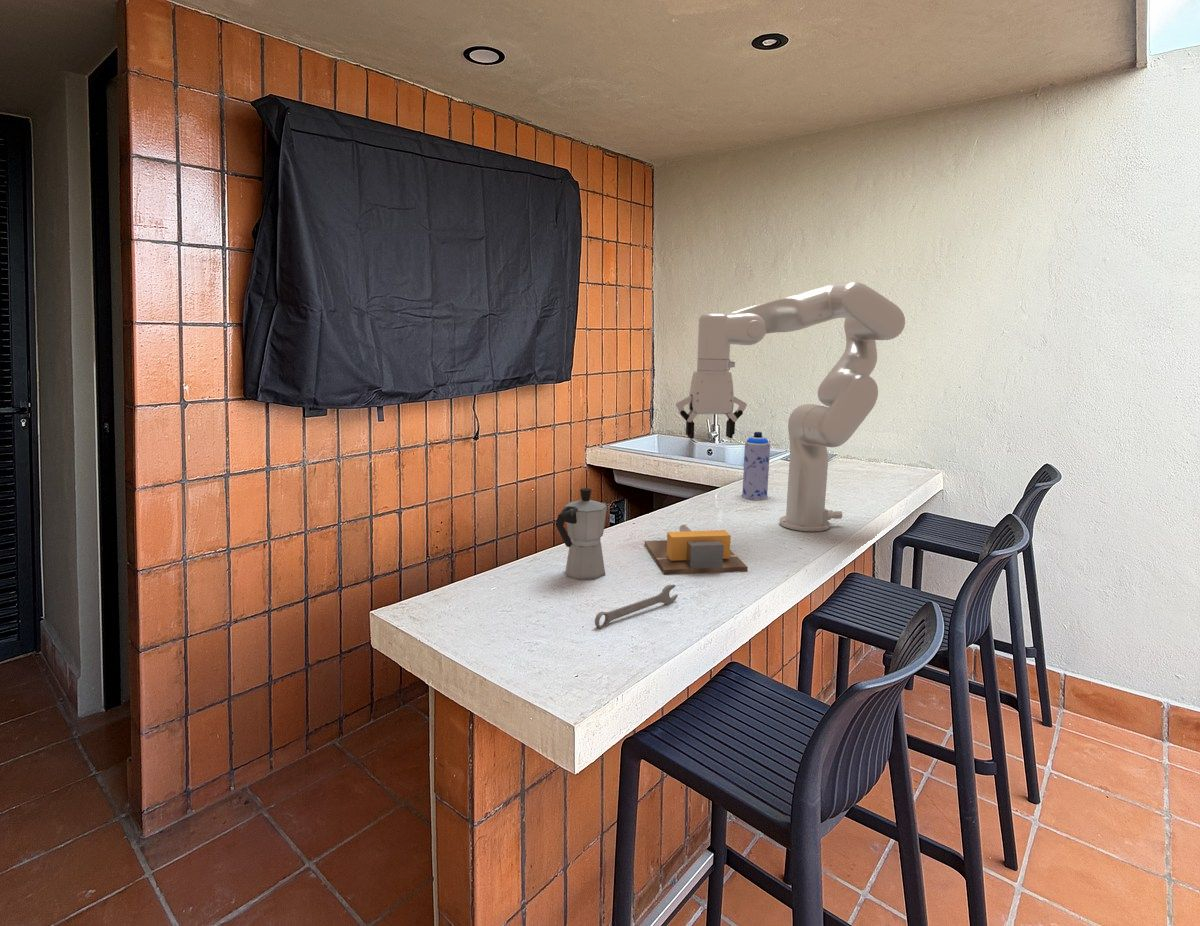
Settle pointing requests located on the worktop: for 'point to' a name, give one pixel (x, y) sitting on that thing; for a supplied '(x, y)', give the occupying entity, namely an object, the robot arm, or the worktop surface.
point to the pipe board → (679, 566)
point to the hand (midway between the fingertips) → (710, 437)
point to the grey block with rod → (703, 553)
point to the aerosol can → (756, 468)
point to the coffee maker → (583, 536)
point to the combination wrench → (636, 606)
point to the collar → (680, 539)
